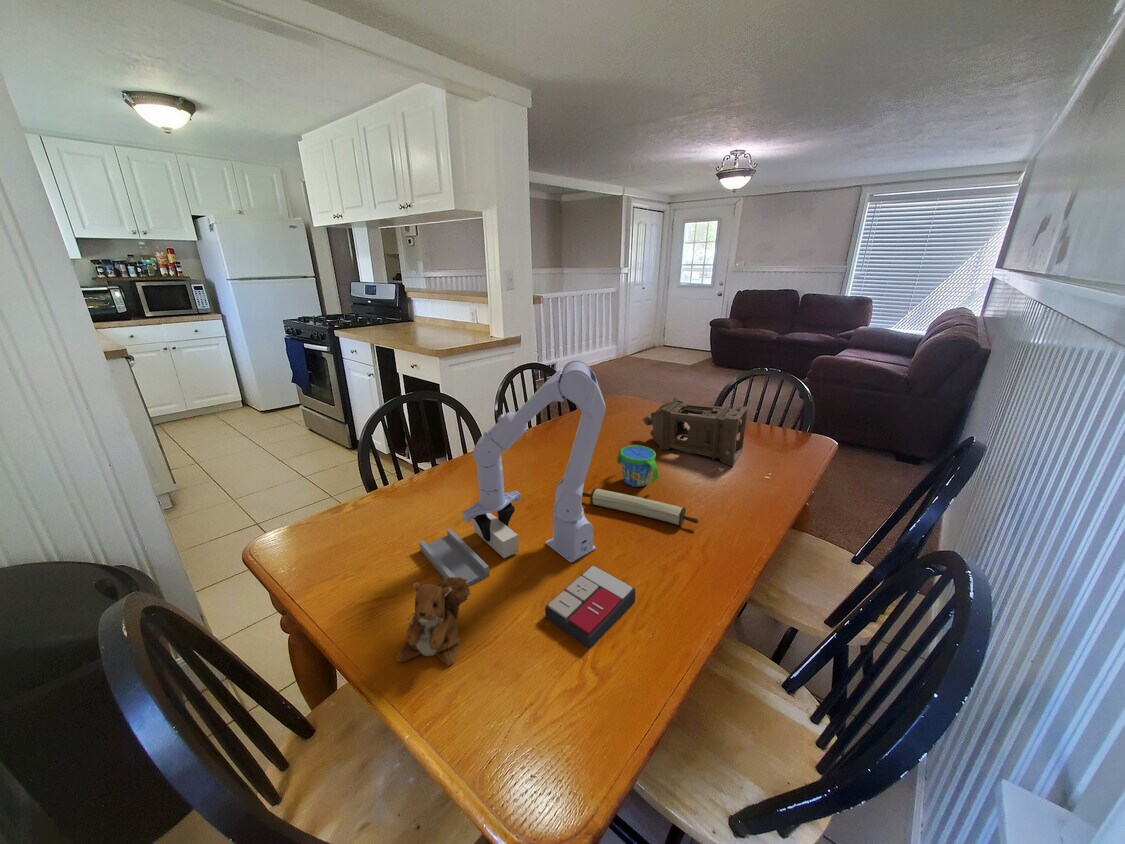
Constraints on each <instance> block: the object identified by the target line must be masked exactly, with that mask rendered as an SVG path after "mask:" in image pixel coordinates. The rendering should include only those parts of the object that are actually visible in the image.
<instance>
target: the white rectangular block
mask: <svg viewBox="0 0 1125 844" xmlns="http://www.w3.org/2000/svg"><path fill="white" fill-rule="evenodd" d="M486 515H487V517H488V518H489V519H490V520H491V523H490V541H488V542H487V541H486V540H485V539H484V538H483V535H482V532H481V530H480V528H479V526H478V524H477V523H476V521H475V520H474V518H473V519H472V525H473V526H472V528H473V532H474V533H476V535H478V536H479V537H480V538H481V539H482V540H483V541H484V542H485V543H487V544H488V545H489V546H490V548H492V549H493V550H494V551H495V552H496V553H498V554H499V555H500V557H502V558H503V559H506V558H508V557H510V556H512V555H514V554H516V553H518V552H519V535H518V533H516V532H515V531H514V530H512V529H511V528H510V527H509V526H508V527H507V526H506V525H505V524H504V523H502V522H501V521H500V520H499V519H498V517H497V516H495V515H494V513H493V514H492V513H487V514H486Z"/></svg>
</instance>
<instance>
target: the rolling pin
mask: <svg viewBox="0 0 1125 844" xmlns="http://www.w3.org/2000/svg"><path fill="white" fill-rule="evenodd" d="M582 497H585V498H590V499H589V500H590V505H591V506H600V507H602V508H603V507H604V508H608V509H612V510H618V511H622V512H625V513H629V514H634V515H635V514H636V515H638V516H643V517H647V518H651V519H655V520H659V521H662V522H667V523H670V524H674V525H677V526H679V527H681V528H682V527H683V524H684V523H685V521H688V522H690V523H693V524H698V523H699V519H698V518H697V517H691V516H688V515H686V513H687V512H686V510H687V508H686V507H685V506H684V507H681V506H678V505H673V504H670V503H666V502H661V501H656V500H652V499H648V498H645V497H640V496H634V495H630V494H626V493H622V492H615V491H611V490H606V489H602V488H598V487H596V486H595V487H594V488H593V489H592V491H591V492H590V493H588V492H585V491H583V493H582Z"/></svg>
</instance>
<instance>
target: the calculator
mask: <svg viewBox="0 0 1125 844" xmlns="http://www.w3.org/2000/svg"><path fill="white" fill-rule="evenodd" d="M635 603H636V588H635V587H633V586H631V585H630V584H628V583H626V582H625V581H623V580H621V579H620V578H617V577H615V576H614V575H612V574H610V573H608V572H607V571H605V570H603V569H601V568H599V567H598V566H596V565H593V564H592V565H590V566H589V567H588V568H587V569H586V570H585V571H584V572H582V573H581V574H580V575H579V576H578V577H576V578H575V579H574V581H572V582H571V583H570V584H568V585H567V587H565V588H564V589H563V590H562V591H561V592H560V593H559V594H557V595H556V596H555V597H554V598H553V599H552V600H551V601H550V602H549V603H547V604H546V605H545V606H544V611H545V619H547V620H548V621H549V622H551V623H552V624H554V625H555V626H556V627H558V628H559V629H561V630H562V631H564V633H566V634H568V635H569V636H570V637H572V638H573V639H575V641H577V642H579V643H580V644H581V645H583V646H584V647H586V648H587V649H591V648H592V647H594V645H595V644H597V643H598V641H599V640H600V639H601V638H602V637H603V636H604V635H605V634H606V633H607V632H608V631H609V629H610V628H612V626H613V625H614V624H615V623H616V622H617V621H618V620H619V618H621V616H623V615H624V614H625V613H626V612H627V611H628V610H629V609H630V608H631V607H632V606H633V605H634V604H635Z"/></svg>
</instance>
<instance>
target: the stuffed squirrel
mask: <svg viewBox="0 0 1125 844" xmlns="http://www.w3.org/2000/svg"><path fill="white" fill-rule="evenodd" d="M466 581H468V580H467V579H466V580H465V578H464V579H462V578H461V577H457V578H456V577H455V578H454V577H450V578H447V579H446V578H445V579H444V578H443V579H442V580H440V582H438V583H437V584H423V585H421V584H420V583H419V582H417V581H416V582H414V583H413V587H414V589H415V592H416V594H415V598H414V612H413V613H412V614H410V615H409V616H408V618H407V621H409V620H410V618H411V617H412V619H411V621H410V622H409V625H408V628H407V631H406V640H407V642H405V644H404V645H403V646H402V647H401V648H400V649H399V651H398V652H397V655H396V657H395V658H396V659H395V660H396V661H397V662H399V663H404V662H407V661H409V660H411V659H412V658H415V657H417V656H419V655H420V654H421V655H422V656H425V657H432V656H435V655H436V656H437V658H438V659H439V660H440V661H441V662H443V663H445V665H447V666H452V665H453V664H454V663H455V661H456V659H457V656H458V654H459V653H458V652H459V648H460V637H459V635H460V634H459V629H458V623H457V620H459V612H460V611H459V610H460V608H459V607H460V606H461V604H464V603H465V602H466V601H467V600H468V598H469V596H470V595H471V593H470V592H471V589H470V587H468V584H467V583H466Z"/></svg>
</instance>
